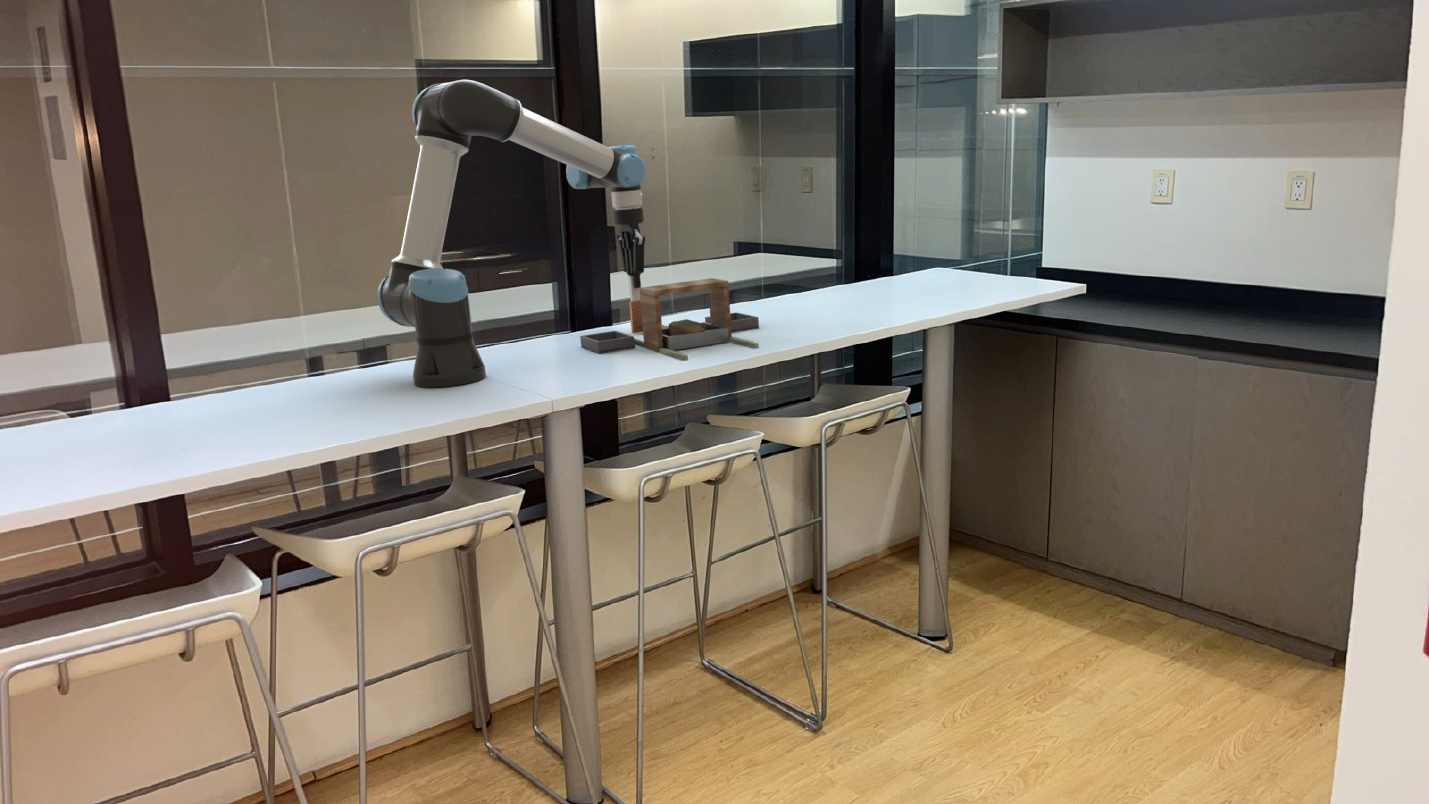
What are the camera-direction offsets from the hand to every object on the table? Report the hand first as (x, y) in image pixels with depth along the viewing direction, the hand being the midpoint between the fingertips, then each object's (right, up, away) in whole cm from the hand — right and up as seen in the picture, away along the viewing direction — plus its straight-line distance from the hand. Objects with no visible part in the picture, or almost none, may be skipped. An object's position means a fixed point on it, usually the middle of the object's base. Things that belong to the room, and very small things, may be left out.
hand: (636, 300), depth 274 cm
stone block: (+14, -13, -23) cm, 30 cm away
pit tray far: (+25, -8, -6) cm, 26 cm away
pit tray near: (-5, -13, -21) cm, 26 cm away
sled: (+10, -11, -16) cm, 21 cm away
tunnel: (+13, -12, -22) cm, 28 cm away
